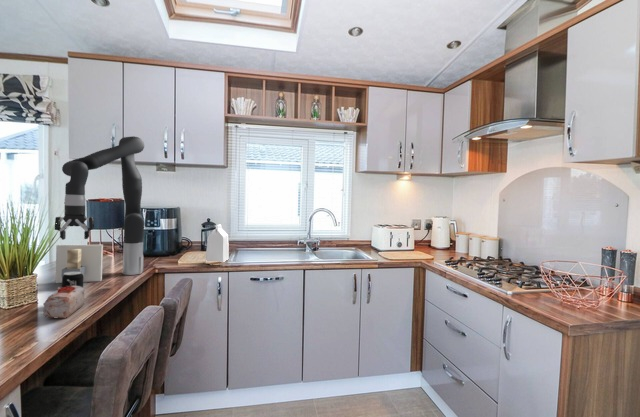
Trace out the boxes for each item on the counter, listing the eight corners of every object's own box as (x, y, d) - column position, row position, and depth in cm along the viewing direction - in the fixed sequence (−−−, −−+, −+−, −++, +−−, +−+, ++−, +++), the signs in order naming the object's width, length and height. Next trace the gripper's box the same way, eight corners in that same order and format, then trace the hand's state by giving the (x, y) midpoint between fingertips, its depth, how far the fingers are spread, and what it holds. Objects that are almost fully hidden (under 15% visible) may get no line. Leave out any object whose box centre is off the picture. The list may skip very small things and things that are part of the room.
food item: (68, 319, 103) (69, 291, 103) (40, 321, 101) (41, 292, 101) (86, 305, 116) (87, 281, 116) (62, 307, 114) (62, 281, 114)
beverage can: (59, 306, 115) (60, 275, 114) (64, 300, 120) (65, 271, 120) (80, 304, 118) (81, 274, 117) (84, 298, 124) (85, 270, 123)
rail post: (80, 271, 142) (81, 248, 142) (77, 273, 138) (78, 250, 138) (70, 272, 140) (71, 248, 140) (66, 274, 137) (67, 250, 136)
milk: (222, 265, 193) (224, 226, 192) (205, 264, 193) (206, 225, 192) (228, 262, 205) (230, 224, 204) (212, 261, 205) (213, 223, 204)
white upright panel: (101, 279, 150) (102, 244, 150) (94, 286, 140) (95, 248, 139) (57, 281, 144) (58, 244, 143) (45, 288, 133) (46, 248, 132)
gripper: (96, 204, 144) (95, 237, 145) (59, 203, 139) (59, 238, 140) (90, 205, 137) (90, 240, 138) (52, 204, 132) (51, 240, 133)
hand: (74, 239), depth 139 cm, fingers open, 8 cm apart
